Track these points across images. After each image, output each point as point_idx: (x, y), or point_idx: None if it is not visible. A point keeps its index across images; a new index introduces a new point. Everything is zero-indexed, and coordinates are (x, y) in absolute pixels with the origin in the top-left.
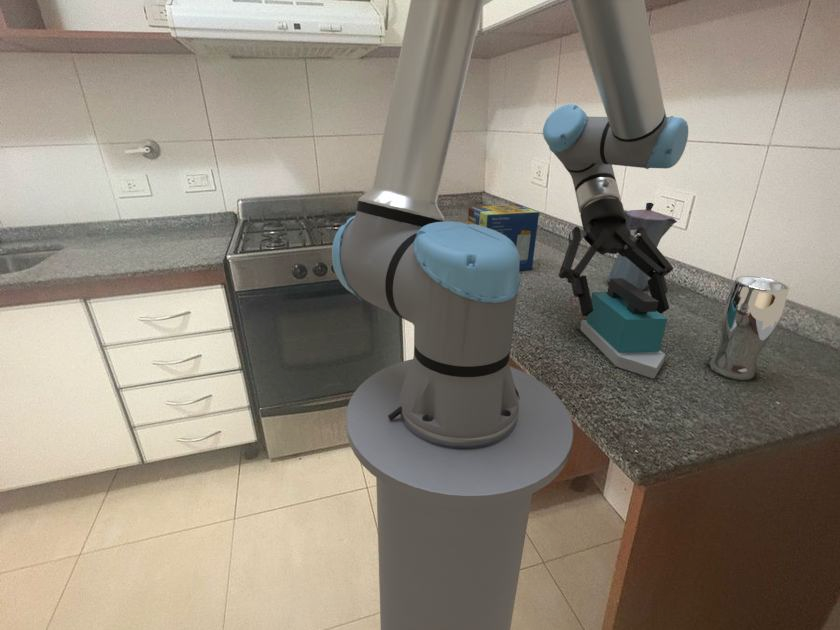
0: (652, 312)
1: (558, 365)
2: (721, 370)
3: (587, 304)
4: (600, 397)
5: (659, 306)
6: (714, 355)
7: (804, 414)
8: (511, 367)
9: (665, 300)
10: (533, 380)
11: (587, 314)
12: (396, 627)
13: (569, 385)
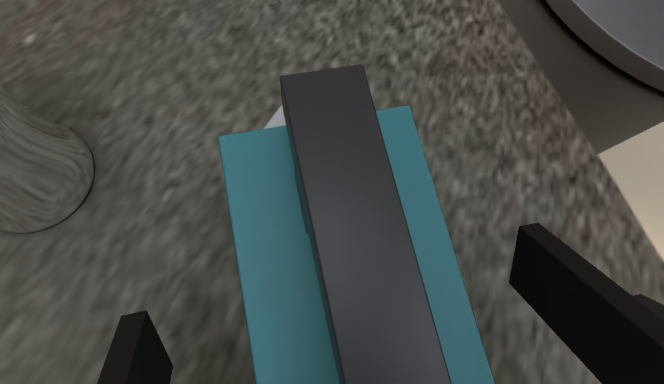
0: (263, 195)
1: (525, 147)
2: (80, 143)
3: (560, 243)
4: (440, 27)
5: (154, 362)
6: (58, 186)
7: (3, 2)
8: (656, 61)
9: (119, 352)
10: (600, 16)
11: (515, 266)
12: None
13: (501, 64)
